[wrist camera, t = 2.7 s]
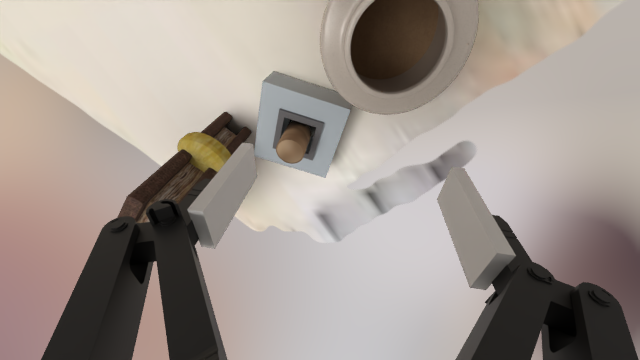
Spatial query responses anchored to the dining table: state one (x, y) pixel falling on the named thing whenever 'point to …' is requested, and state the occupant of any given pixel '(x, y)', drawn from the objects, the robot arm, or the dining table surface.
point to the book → (186, 167)
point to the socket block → (300, 120)
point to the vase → (395, 50)
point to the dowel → (293, 142)
